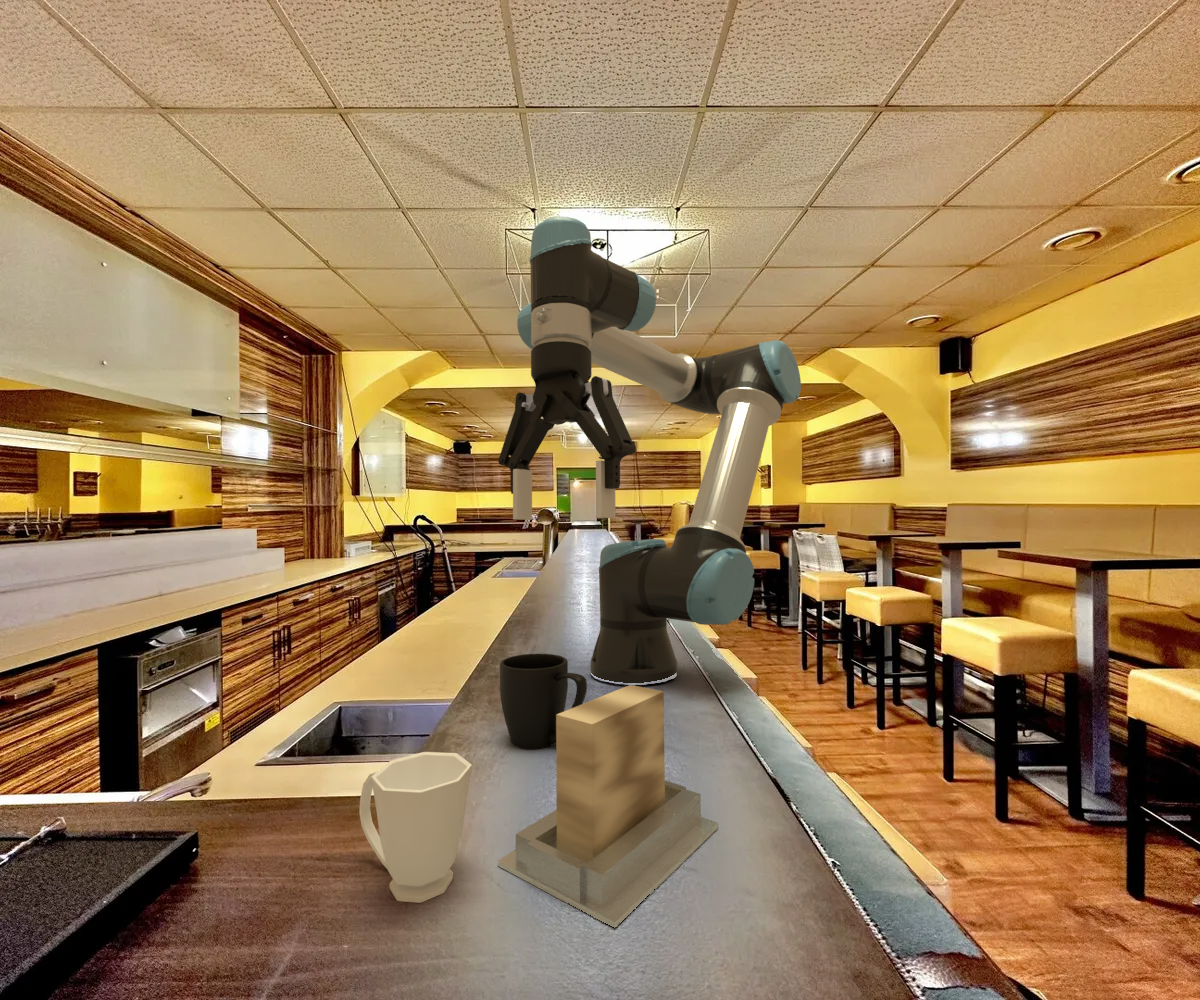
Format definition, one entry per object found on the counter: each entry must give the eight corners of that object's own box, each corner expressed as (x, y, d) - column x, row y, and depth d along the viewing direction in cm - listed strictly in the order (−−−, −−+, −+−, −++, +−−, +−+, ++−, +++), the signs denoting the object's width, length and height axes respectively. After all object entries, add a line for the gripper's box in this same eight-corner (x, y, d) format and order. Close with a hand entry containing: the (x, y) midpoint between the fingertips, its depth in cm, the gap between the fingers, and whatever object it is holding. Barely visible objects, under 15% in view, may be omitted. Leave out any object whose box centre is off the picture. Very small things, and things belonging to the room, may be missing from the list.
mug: (556, 770, 59) (556, 679, 59) (485, 742, 67) (485, 662, 67) (605, 746, 65) (605, 664, 66) (535, 723, 73) (535, 650, 73)
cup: (418, 930, 36) (419, 801, 36) (321, 882, 40) (323, 769, 41) (491, 871, 42) (491, 761, 42) (398, 835, 47) (400, 737, 47)
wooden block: (631, 809, 50) (630, 684, 50) (665, 821, 48) (663, 691, 48) (556, 862, 42) (556, 714, 42) (593, 880, 40) (592, 724, 40)
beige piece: (614, 791, 54) (614, 763, 54) (718, 827, 47) (717, 796, 48) (498, 865, 42) (498, 830, 42) (614, 929, 36) (614, 887, 36)
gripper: (472, 360, 74) (471, 519, 73) (626, 315, 59) (627, 516, 58) (513, 372, 80) (513, 520, 79) (663, 334, 65) (665, 517, 64)
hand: (561, 519), depth 68 cm, fingers open, 13 cm apart
